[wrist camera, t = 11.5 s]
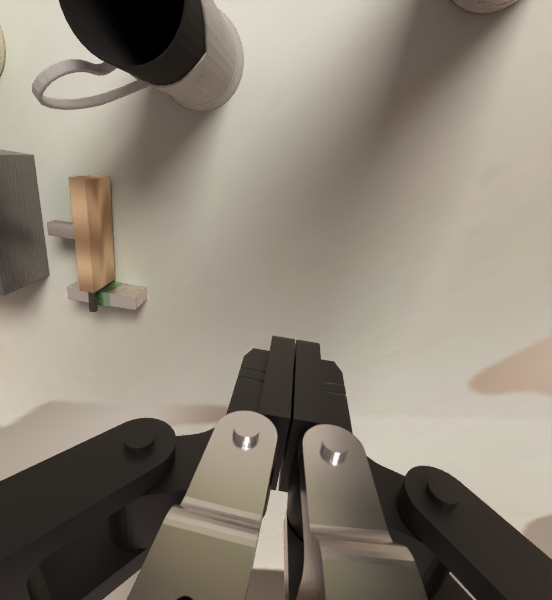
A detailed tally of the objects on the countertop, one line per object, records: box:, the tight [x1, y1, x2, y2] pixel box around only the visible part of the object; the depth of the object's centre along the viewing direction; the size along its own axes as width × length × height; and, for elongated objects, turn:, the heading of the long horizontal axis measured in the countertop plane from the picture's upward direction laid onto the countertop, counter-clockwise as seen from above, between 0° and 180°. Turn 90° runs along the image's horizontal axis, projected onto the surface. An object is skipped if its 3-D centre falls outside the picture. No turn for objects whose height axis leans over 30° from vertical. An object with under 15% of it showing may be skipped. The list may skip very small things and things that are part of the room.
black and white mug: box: [32, 0, 244, 111], centre depth 26 cm, size 9×14×15 cm, turn 121°
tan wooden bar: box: [47, 175, 115, 312], centre depth 38 cm, size 15×6×5 cm, turn 172°
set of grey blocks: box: [0, 150, 147, 310], centre depth 37 cm, size 15×19×7 cm
